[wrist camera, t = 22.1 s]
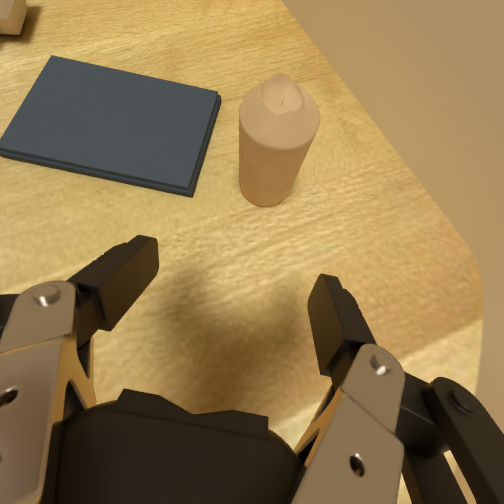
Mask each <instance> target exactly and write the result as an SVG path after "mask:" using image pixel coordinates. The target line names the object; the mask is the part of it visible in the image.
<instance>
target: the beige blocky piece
mask: <svg viewBox="0 0 504 504" xmlns="http://www.w3.org/2000/svg"><path fill="white" fill-rule="evenodd" d="M27 11H28V9H27V5H26V0H0V34H12V35H20V32H21V29H22V26H23V23H24V20H25V17H26V14H27Z"/></svg>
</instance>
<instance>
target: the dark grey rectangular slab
mask: <svg viewBox="0 0 504 504" xmlns="http://www.w3.org/2000/svg"><path fill="white" fill-rule="evenodd" d="M220 104H221V95H218V92H217V91H213V90H208V89H204V88H199V87H195V86H190V85H185V84H181V83H176V82H172V81H167V80H163V79H158V78H153V77H149V76H144V75H140V74H135V73H131V72H126V71H121V70H117V69H112V68H108V67H103V66H99V65H94V64H89V63H85V62H80V61H76V60H71V59H67V58H62V57H57V56H53V55H51V57H50V59H49V60H48V62H47V63H46V65H45V67H44V68H43V70H42V72H41V73H40V75H39V77H38V78H37V80H36V82H35V83H34V85H33V86H32V88H31V90H30V91H29V93H28V95H27V96H26V98H25V100H24V101H23V103H22V104H21V106H20V108H19V109H18V111H17V113H16V114H15V116H14V118H13V119H12V121H11V123H10V124H9V126H8V127H7V129H6V131H5V132H4V134H3V136H2V137H1V139H0V156H1V157H5V158H10V159H14V160H19V161H24V162H28V163H33V164H38V165H42V166H47V167H52V168H56V169H61V170H66V171H71V172H75V173H80V174H85V175H89V176H94V177H99V178H103V179H108V180H113V181H117V182H122V183H127V184H132V185H136V186H141V187H146V188H150V189H155V190H160V191H164V192H169V193H174V194H178V195H183V196H188V197H192V196H193V193H194V190H195V186H196V183H197V180H198V176H199V173H200V170H201V167H202V163H203V160H204V157H205V153H206V150H207V147H208V144H209V140H210V137H211V134H212V130H213V127H214V124H215V121H216V117H217V114H218V111H219V107H220Z"/></svg>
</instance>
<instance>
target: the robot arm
mask: <svg viewBox="0 0 504 504" xmlns="http://www.w3.org/2000/svg"><path fill="white" fill-rule="evenodd" d="M158 269H159V255H158V242H157V239H156V238H152V237H148V236H143V235H137V236H136V237H134V238H133V239H132V240H130V241H129V242H128V243H122V244H120V245H117V246H114V247H112V248H111V249H110V250H108V251H107V252H105V253H104V255H101V256H100V257H98V258H97V260H94V261H93V262H91V263H90V264H89V265H87V266H86V267H84V268H83V269H82V270H80V271H79V272H77V273H76V274H75V275H73V276H72V277H71V278H69V279H68V280H66V281H49V282H45V283H41V284H38V285H35V286H33V287H31V288H29V289H27V290H25V291H24V292H22V293H21V294H4V295H0V504H397V497H398V491H399V484H400V477H401V472H402V475H403V478H404V481H405V484H406V487H407V490H408V493H409V496H410V499H411V502H412V504H468V503H467V501H466V499H465V497H464V495H463V493H462V491H461V489H460V487H459V485H458V483H457V481H456V479H455V477H454V475H453V473H452V470H451V468H450V466H449V464H448V462H447V460H446V458H445V456H444V454H443V453H444V452H446V451H449V450H451V452H452V454H453V456H454V458H455V460H456V462H457V464H458V466H459V468H460V470H461V472H462V473H463V476H464V477H465V479H466V481H467V483H468V485H469V487H470V489H471V491H472V493H473V495H474V497H475V500H476V503H477V504H504V434H503V433H502V432H501V430H500V429H499V427H498V426H497V424H496V423H495V422H494V420H493V419H492V418H491V417H490V415H489V413H488V412H487V411H486V409H485V408H484V407H483V406H482V404H481V403H480V402H479V401H478V400H477V398H476V397H475V396H474V395H473V394H471V393H470V392H469V391H468V390H467V389H465V388H464V387H463V386H461V385H460V384H458V383H456V382H455V381H453V380H450V379H448V378H444V377H438V378H436V379H434V380H433V381H432V382H431V383H427V382H425V381H423V380H421V379H419V378H417V377H414V376H412V375H410V374H408V373H406V372H404V370H403V368H402V366H401V365H400V363H399V362H398V361H397V359H396V358H395V357H394V356H393V355H392V354H391V353H389V352H388V351H387V350H385V349H384V348H382V347H380V346H377V344H376V341H375V339H374V337H373V335H372V333H371V331H370V329H369V327H368V325H367V323H366V321H365V319H364V317H363V316H362V313H361V311H360V309H359V308H358V304H357V302H356V300H355V298H354V297H353V296H352V295H351V294H350V293H349V292H348V291H347V289H343V288H342V285H341V283H340V281H339V279H338V277H336V276H331V275H326V274H320V275H319V276H318V278H317V281H316V283H315V285H314V287H313V289H312V291H311V294H310V296H309V299H308V313H309V318H310V324H311V329H312V334H313V339H314V344H315V350H316V355H317V360H318V365H319V370H320V375H324V376H329V377H331V380H332V385H331V386H330V387H329V389H328V391H327V393H326V395H325V397H324V399H323V400H322V402H321V404H320V406H319V408H318V410H317V412H316V413H315V415H314V417H313V419H312V421H311V423H310V425H309V426H308V428H307V430H306V431H305V433H304V434H303V436H302V437H301V439H300V440H299V442H298V444H297V445H296V447H295V449H294V451H293V450H292V448H291V447H290V446H289V445H288V444H287V443H286V442H285V441H284V440H283V439H282V438H281V437H279V436H278V435H277V434H276V433H274V432H273V431H271V430H269V429H268V417H267V416H261V415H256V414H251V413H246V412H241V411H236V410H229V411H220V412H212V413H204V414H191V413H189V412H188V411H186V410H184V409H182V408H181V407H179V406H177V405H175V404H174V403H172V402H170V401H168V400H167V399H165V398H163V397H161V396H160V395H155V394H149V393H144V392H139V391H134V390H129V389H123V391H122V393H121V394H120V396H119V398H118V400H114V401H109V402H105V403H101V404H98V405H96V397H95V392H94V384H93V367H94V339H93V335H94V333H95V332H96V331H97V330H98V329H100V330H105V331H110V332H111V330H112V329H113V328H114V327H115V325H116V324H117V323H118V322H119V321H120V319H121V318H122V317H123V316H124V314H125V313H126V312H127V311H128V310H129V308H130V307H131V306H132V305H133V303H134V302H135V301H136V300H137V299H138V297H139V296H140V295H141V294H142V292H143V291H144V290H145V289H146V287H147V286H148V285H149V284H150V283H151V281H152V280H153V279H154V278H155V276H156V275H157V272H158Z"/></svg>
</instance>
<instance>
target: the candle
mask: <svg viewBox="0 0 504 504" xmlns="http://www.w3.org/2000/svg"><path fill="white" fill-rule="evenodd" d="M319 123H320V115H319V110H318V108H317V105H316V103H315V102H314V100H313V98H312V97H311V96H310V94H309V93H308V92H307V91H306V90H305V89H304V88H303V87H301V86H300V85H299V84H298V83H297V82H296V81H295V80H293V79H291V78H289V77H288V76H287V75H285V74H283V73H278V74H275V75H273V76H271V77H269V78H267V79H266V80H264V81H263V82H262V83H260V84H259V85H257V86H256V87H254V88H253V89H252V90H250V91H249V92H248V93H247V94H246V95H245V96H244V98H243V100H242V102H241V104H240V109H239V180H240V188H241V191H242V193H243V195H244V196H245V197H246V199H248V200H249V201H250V202H251V203H253V204H255V205H258V206H263V207H269V206H274V205H277V204H278V203H280V202H282V201H283V200H284V199H285V198H286V196H287V195H288V193H289V191H290V189H291V187H292V185H293V183H294V180H295V178H296V176H297V174H298V172H299V169H300V167H301V165H302V163H303V161H304V158H305V156H306V154H307V152H308V150H309V147H310V145H311V143H312V141H313V139H314V136H315V134H316V132H317V130H318V127H319Z"/></svg>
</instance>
